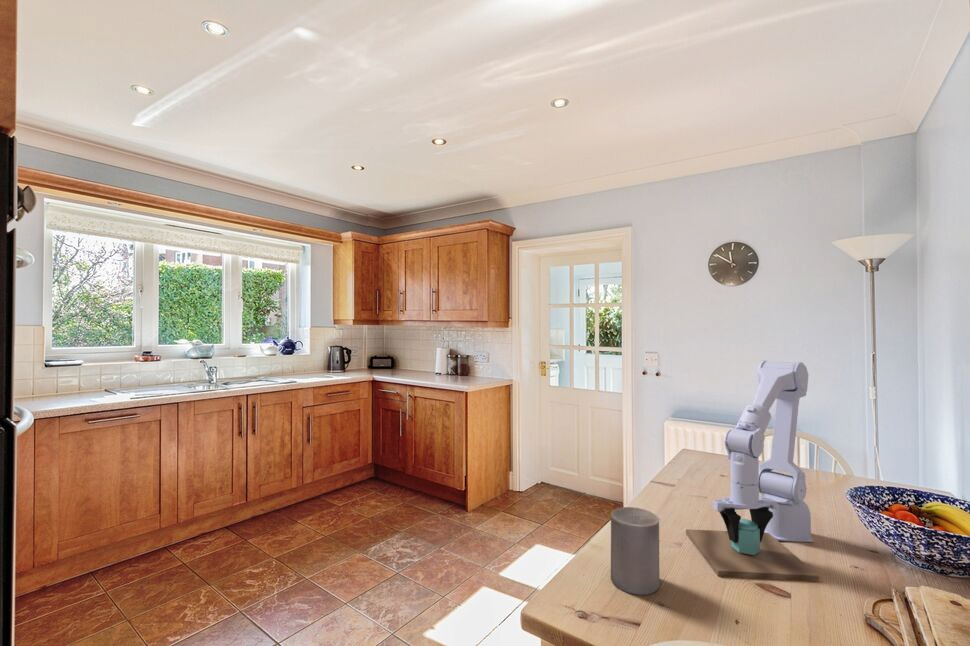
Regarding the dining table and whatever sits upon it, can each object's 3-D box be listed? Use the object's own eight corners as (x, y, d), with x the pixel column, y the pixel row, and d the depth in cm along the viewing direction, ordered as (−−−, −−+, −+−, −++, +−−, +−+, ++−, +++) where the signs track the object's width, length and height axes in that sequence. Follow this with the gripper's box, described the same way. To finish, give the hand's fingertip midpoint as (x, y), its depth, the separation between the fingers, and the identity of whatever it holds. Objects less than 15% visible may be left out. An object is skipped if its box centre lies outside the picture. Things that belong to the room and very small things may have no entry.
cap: (747, 542, 107) (747, 517, 108) (764, 554, 102) (764, 528, 102) (727, 543, 107) (727, 518, 107) (743, 555, 101) (743, 528, 101)
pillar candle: (605, 569, 98) (605, 500, 99) (650, 570, 98) (650, 500, 98) (617, 595, 89) (617, 519, 89) (667, 596, 88) (666, 519, 89)
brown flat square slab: (768, 537, 113) (768, 532, 113) (819, 581, 93) (818, 575, 93) (685, 534, 115) (685, 529, 115) (718, 576, 95) (718, 570, 95)
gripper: (762, 475, 109) (762, 531, 109) (704, 476, 108) (705, 533, 108) (783, 485, 102) (784, 545, 102) (722, 486, 101) (723, 548, 101)
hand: (745, 540), depth 104 cm, fingers open, 5 cm apart
